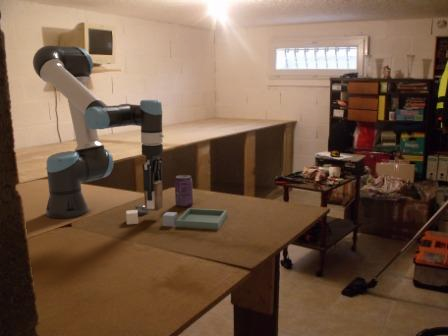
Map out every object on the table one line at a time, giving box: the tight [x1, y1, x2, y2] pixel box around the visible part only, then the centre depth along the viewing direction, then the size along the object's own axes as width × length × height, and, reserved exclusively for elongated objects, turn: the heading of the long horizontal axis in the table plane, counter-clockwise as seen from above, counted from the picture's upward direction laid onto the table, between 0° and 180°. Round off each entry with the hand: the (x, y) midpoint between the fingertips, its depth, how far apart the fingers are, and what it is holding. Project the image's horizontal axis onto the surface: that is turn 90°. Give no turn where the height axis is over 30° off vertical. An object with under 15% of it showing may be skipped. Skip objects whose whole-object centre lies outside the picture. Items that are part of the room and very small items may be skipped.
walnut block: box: [143, 180, 164, 212], centre depth 159 cm, size 5×5×10 cm
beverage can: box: [174, 174, 194, 208], centre depth 176 cm, size 7×7×12 cm
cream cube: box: [125, 209, 139, 225], centre depth 157 cm, size 4×4×4 cm
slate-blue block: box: [162, 211, 179, 227], centre depth 153 cm, size 4×4×4 cm
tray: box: [175, 207, 228, 231], centre depth 156 cm, size 15×15×2 cm
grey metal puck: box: [134, 203, 150, 216], centre depth 167 cm, size 5×5×3 cm
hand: (153, 206), depth 160 cm, fingers closed on walnut block, 5 cm apart
